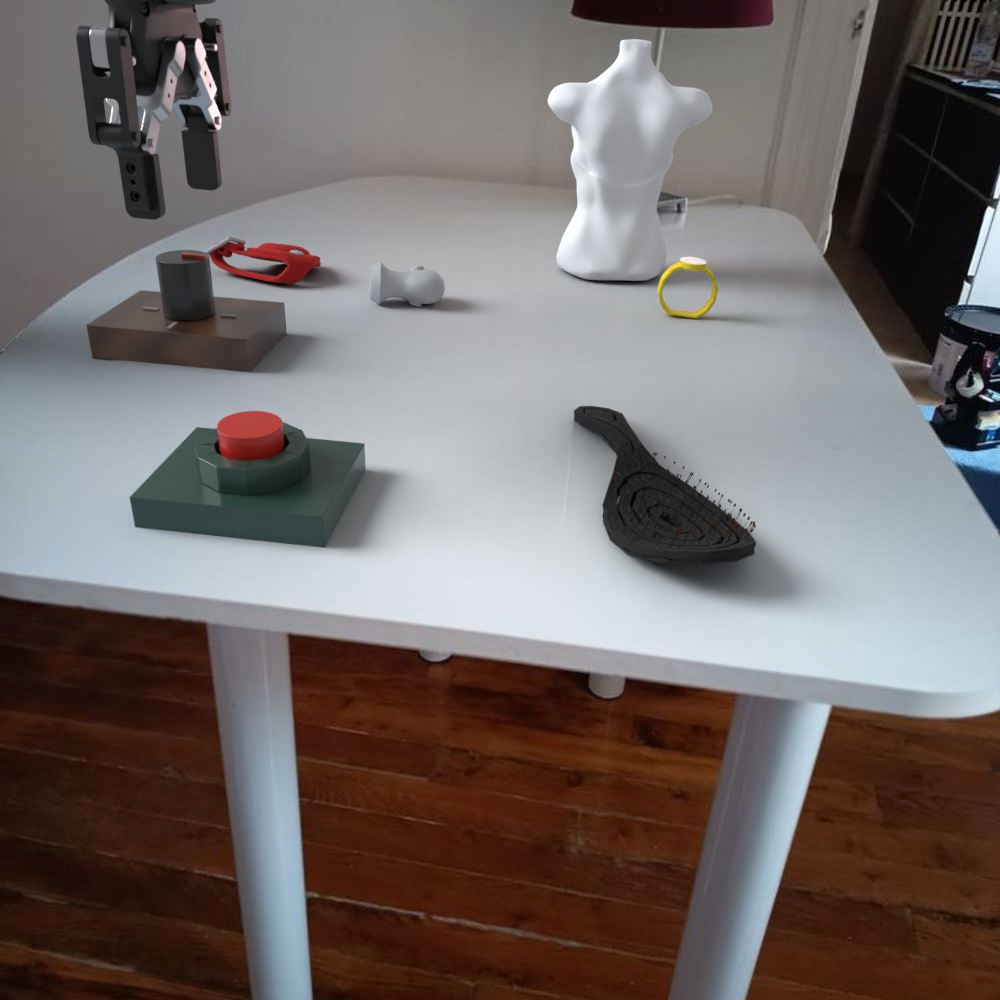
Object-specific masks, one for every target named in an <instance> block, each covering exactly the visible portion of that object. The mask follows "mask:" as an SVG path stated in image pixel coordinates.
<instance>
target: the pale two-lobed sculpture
mask: <svg viewBox="0 0 1000 1000" xmlns="http://www.w3.org/2000/svg"><path fill="white" fill-rule="evenodd" d="M368 279H369V280H368V296H369V297H368V298H369V299H370V300H371V301H372V302H374V303H375V304H376V305H380V304H381V303H383V301H385V300H387V299H391V298H395V299H401V300H403V301H406V302H408V303H409V305H411V306H414V307H417V308H421V307H422V305H433V304H435V303H438V302H439V301H440V300H441V299H442V298H443V296H444V294H445V290H446V286H445V285H446V284H445V280H444V278H443V277H442V275H441V274H440V273H438V272H437V271H434V270H430V269H425V267H424V265H413V266H411V267H410V268H407V269H403V270H400V271H399V270H392V269H389V268H388V267H386V266H385V264H384V263H383V262H382V261H379V262H377V263H374V264H373V265H371V266H370V270H369V277H368Z"/></svg>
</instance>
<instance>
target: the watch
mask: <svg viewBox="0 0 1000 1000" xmlns="http://www.w3.org/2000/svg"><path fill="white" fill-rule="evenodd" d="M707 265H708V261H707V260H705V259H703V258H700V257H695V256H681V257H680V258H679V261H678V262H676V263H673V264H671V265H670V266H669V267H668V268H667V269H666V270H665V271H664V272H663V273H662V275H661V277H660V278H659V282H658V285H657V296H658V301H659V305H660V307H661V308H662V309H663V310H664V313H666V314H667V315H668V316H671V317H672V316H673V317H682V318H688V319H695V320H697V319H699V318H700V317H703V316H705V315H706V314H708V312H709V311H710V310H711V309H712V307H713V306H714V305H715V303H716V301H717V296H718V289H719V287H718V283H717V280H716V277H715V275H714V272H713V271H712V269H710V268H709V267H708V266H707ZM682 269H684V270H688V271H694V272H702V271H703V272H704V273H705V274H706V275H707V276H708V277H709V278H710V281H711V283H712V288H711V294H710V297H709V299H708V300H707V301H706V302H705V303H704V306H702V307H700V308H699V309H696V310H695V311H687V310H681V309H674V308H670V307H669V305H668V304H667V303H666V302H665V301H664V297H663V290H664V286H665V283H666V282H667V280H668V279H669V278H670V277H671V276H672V275H673V274H674V272H675V273H676V272H677V271H679V270H682Z"/></svg>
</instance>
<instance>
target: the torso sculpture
mask: <svg viewBox="0 0 1000 1000" xmlns="http://www.w3.org/2000/svg"><path fill="white" fill-rule="evenodd" d="M652 47H653V42H652V41H651V40H645V39H639V38H632V39H622V40H620V42H619V52H618V55H617V57H616V59H615V61H614V62H613V63H612V64H611V65H610V66H609V67H608V68H607V69H606V70H605V71H603V72H602V73H601V74H600V75H599V76H597V77H596V78H594V79H592V80H591V81H589V82H564V83H561V84H558V85H556V86H554V87H553V88H552V89H551V91H550V92H549V95H548V97H547V105H548V106H549V109H550V110H551V111H552V112H553V113H554V115H555V116H556V117H557V118H558V119H559V120H560V121H562V122H564V123H566V124H569V125H570V126H571V136H572V140H573V148H572V151H571V154H570V166H571V170H572V172H573V175H574V177H575V181H576V200H577V204H576V209H575V211H574V213H573V216H572V218H571V220H570V221H569V223H568V225H567V227H566V228H565V230H564V233H563V235H562V237H561V239H560V242H559V246H558V249H557V252H556V257H555V258H556V259H555V260H556V264H557V266H558V267H559V269H561V270H563V271H565V272H566V273H567V274H569V275H572V276H574V277H577V278H580V279H583V280H590V281H591V280H592V281H627V282H628V281H630V282H639V281H640V282H641V281H642V282H643V281H644V282H645V281H649V280H652V279H653V278H655V277H657V276H659V275H660V273H661V272H662V271H663V268H664V266H665V264H666V260H667V245H666V239H665V236H664V232H663V228H662V225H661V221H660V218H659V213H658V202H659V199H660V196H661V192H662V188H663V183H664V179H665V177H666V175H667V174H668V172H669V170H670V168H671V165H672V163H673V160H674V152H673V150H674V146H675V144H676V142H677V140H678V139H679V137H680V136H681V135H682V134H683V133H684V132H685V131H686V130H688V129H691V128H693V127H697V126H698V125H700V124H701V123H702V122H704V121H705V120H706V119H708V118H709V117H710V116H711V114H712V113H713V111H714V110H713V109H714V107H713V106H714V105H713V102H712V100H711V97H710V96H709V94H708V93H707V92H706V91H705V90H703V89H700V88H697V87H689V86H676V85H673V84H671V83H670V82H669V81H668V80H667V78H666V77H665V76H664V74H663V73H661V71H660V70H659V69H658V67H656V65H655V63H654V61H653V59H652Z"/></svg>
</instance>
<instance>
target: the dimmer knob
mask: <svg viewBox="0 0 1000 1000" xmlns="http://www.w3.org/2000/svg"><path fill="white" fill-rule="evenodd" d="M210 259H211V258H210V255H208V254H207V253H205V252H204V251H201V250H196V249H195V250H194V249H177V250H170V251H169V250H168V251H165V252H162V253H159V254H158V255H156V256H155V263H156V270H157V278H158V284H159V285H158V286H159V292H161V299H162V306H163V313H164V315H165V316H166V317H167V318H170V319H173V320H181V321H191V320H199V319H204V318H207V317H210V316H212V315H213V314H214V313H215V303H214V297H215V295H214V288H213V286H214V285H213V278H212V270H211V260H210Z"/></svg>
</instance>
